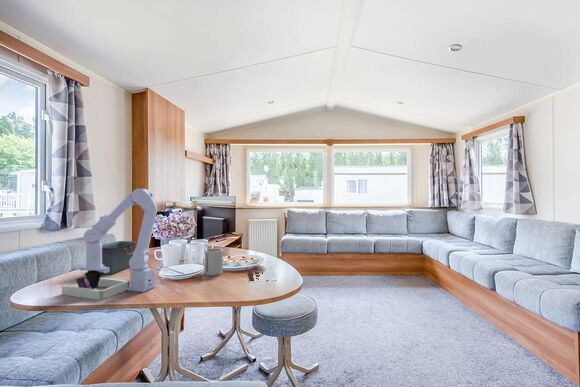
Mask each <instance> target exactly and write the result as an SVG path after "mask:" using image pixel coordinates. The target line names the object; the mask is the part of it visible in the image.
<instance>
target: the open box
mask: <svg viewBox="0 0 580 387" xmlns="http://www.w3.org/2000/svg"><path fill="white" fill-rule="evenodd" d="M98 286H99V287H101V288H102V287H103V288H105V289H97V290H95V289H96V288H94V289H91V288H89V289H88V288H80V287H78V286H71V285H61V295H62V296H70V297H77V298H84V299H90V300H95V301H96V300H98V301H103V300H105V299H108V298H110V297H112V296H116V295H117V294H120V293H124V292H125V291H127V290H126V289H127V288H130V280H123V279H114V278H107V277H106V278H105V277H100V280H99V283H98Z"/></svg>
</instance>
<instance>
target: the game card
mask: <svg viewBox="0 0 580 387" xmlns="http://www.w3.org/2000/svg"><path fill="white" fill-rule="evenodd" d="M85 279H86V281H85ZM75 280H76V283H77V287H80V288H88V289H91V286H90V283H89V280H88V278H87V277H86V276H83V277H80V278H76V279H75ZM94 289H95V290H100V286H97V288H94Z"/></svg>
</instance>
